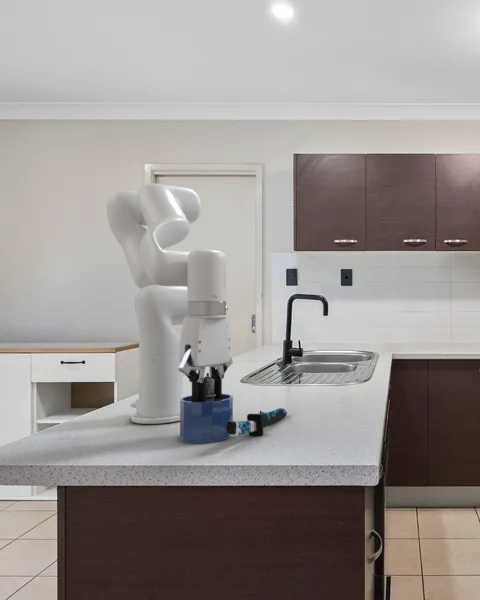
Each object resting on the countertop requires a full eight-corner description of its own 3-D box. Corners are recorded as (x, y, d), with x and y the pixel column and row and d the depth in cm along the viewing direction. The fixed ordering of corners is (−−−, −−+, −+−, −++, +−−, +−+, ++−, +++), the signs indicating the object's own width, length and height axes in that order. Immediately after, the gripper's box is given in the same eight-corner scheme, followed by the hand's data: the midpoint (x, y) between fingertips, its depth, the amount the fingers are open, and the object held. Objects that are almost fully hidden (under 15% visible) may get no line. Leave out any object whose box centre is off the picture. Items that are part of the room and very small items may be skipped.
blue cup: (169, 440, 103) (169, 399, 103) (206, 428, 112) (206, 392, 112) (207, 445, 99) (207, 404, 99) (242, 433, 108) (242, 395, 108)
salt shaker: (226, 430, 107) (228, 372, 108) (206, 435, 102) (209, 374, 102) (202, 427, 109) (205, 370, 110) (182, 432, 103) (185, 372, 104)
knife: (231, 445, 94) (233, 420, 95) (216, 444, 95) (218, 419, 95) (296, 425, 124) (297, 406, 125) (285, 424, 125) (286, 405, 125)
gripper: (222, 310, 115) (222, 392, 115) (160, 311, 100) (159, 406, 100) (249, 310, 112) (248, 394, 112) (189, 311, 97) (188, 409, 97)
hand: (206, 399), depth 106 cm, fingers closed on salt shaker, 3 cm apart
